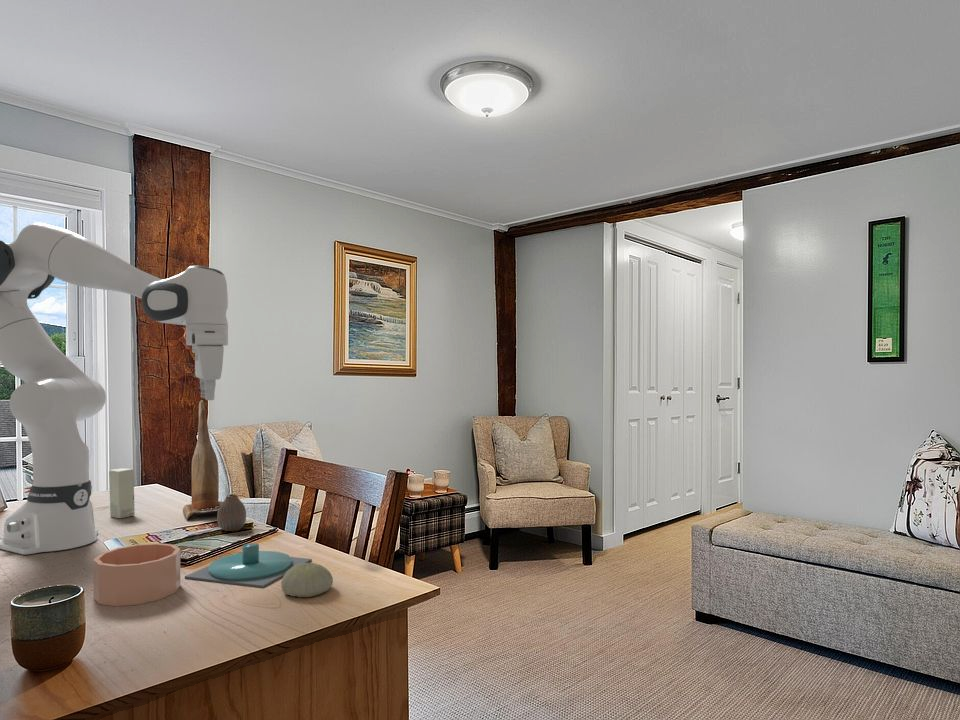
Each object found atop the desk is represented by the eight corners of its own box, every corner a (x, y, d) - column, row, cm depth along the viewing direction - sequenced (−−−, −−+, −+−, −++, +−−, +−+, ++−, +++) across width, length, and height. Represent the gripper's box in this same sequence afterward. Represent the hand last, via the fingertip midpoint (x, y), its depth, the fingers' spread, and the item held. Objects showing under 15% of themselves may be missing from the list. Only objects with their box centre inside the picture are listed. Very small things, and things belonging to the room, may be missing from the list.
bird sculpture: (223, 509, 189) (221, 398, 190) (231, 516, 179) (229, 399, 180) (181, 514, 183) (179, 400, 184) (187, 522, 173) (184, 401, 174)
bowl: (76, 600, 117) (76, 561, 117) (137, 576, 130) (137, 541, 130) (138, 609, 113) (138, 569, 113) (195, 583, 126) (195, 546, 126)
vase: (236, 534, 161) (236, 498, 161) (211, 532, 163) (211, 497, 162) (251, 526, 168) (251, 492, 168) (227, 525, 169) (227, 491, 169)
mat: (184, 578, 129) (184, 576, 129) (240, 553, 145) (240, 551, 145) (263, 587, 124) (263, 585, 124) (311, 560, 140) (311, 558, 140)
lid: (190, 575, 129) (190, 553, 129) (242, 552, 144) (242, 532, 144) (259, 584, 124) (259, 560, 124) (306, 559, 140) (306, 538, 140)
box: (135, 515, 180) (135, 469, 180) (119, 519, 176) (119, 471, 176) (124, 513, 182) (124, 467, 182) (108, 516, 179) (108, 469, 179)
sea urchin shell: (309, 594, 115) (287, 557, 118) (288, 619, 118) (266, 582, 121) (346, 578, 123) (324, 544, 126) (325, 602, 126) (303, 568, 129)
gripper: (188, 338, 156) (188, 397, 156) (195, 336, 138) (196, 402, 138) (216, 339, 159) (217, 396, 159) (227, 336, 141) (228, 401, 141)
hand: (207, 399), depth 148 cm, fingers open, 8 cm apart
